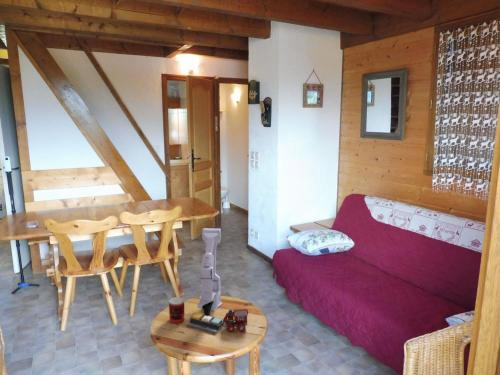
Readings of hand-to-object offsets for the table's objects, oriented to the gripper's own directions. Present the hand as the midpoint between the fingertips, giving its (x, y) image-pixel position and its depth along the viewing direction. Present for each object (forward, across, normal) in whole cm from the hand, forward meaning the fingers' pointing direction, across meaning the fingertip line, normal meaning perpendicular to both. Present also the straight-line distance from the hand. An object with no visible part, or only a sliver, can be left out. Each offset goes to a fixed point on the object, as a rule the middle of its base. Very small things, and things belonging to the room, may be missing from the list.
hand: (206, 315), depth 192 cm
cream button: (+3, 0, 0) cm, 3 cm away
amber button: (+3, 0, -6) cm, 7 cm away
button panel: (+5, 0, 0) cm, 5 cm away
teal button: (+3, 0, +5) cm, 6 cm away
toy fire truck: (+5, -2, +15) cm, 16 cm away
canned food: (+5, +3, -16) cm, 17 cm away
